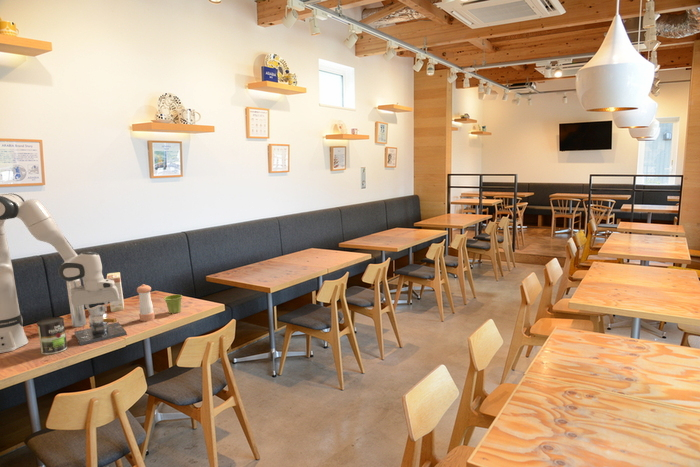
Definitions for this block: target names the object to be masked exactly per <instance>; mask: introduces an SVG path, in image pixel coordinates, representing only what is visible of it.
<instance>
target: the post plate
mask: <svg viewBox="0 0 700 467" xmlns="http://www.w3.org/2000/svg"><path fill="white" fill-rule="evenodd" d="M127 334H128V333H127V331H126V329H124V327H123V326H122V324H121V323H120V322H119V321H118V322H115V323H112V322H111V323H107V324H106V325H103V326H99V327H92V328H90V327H89V328H85V329H81V330H75V331H74V336H75V338H76V341H77V342H78V345H79V346H85V345H89V344H93V343H97V342H102V341H105V340H110V339H113V338H119V337H122V336H127Z"/></svg>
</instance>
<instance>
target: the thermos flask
mask: <svg viewBox="0 0 700 467" xmlns="http://www.w3.org/2000/svg"><path fill="white" fill-rule="evenodd" d="M79 286H82V281H81V278H80V279H77V280H74V281H66V288H67V295H68V302H69V303H68V304H69V310H70V316H71V324H72V327H73V328H79V327H80V328H81V327H84V326H86V325H87V319H86V318H87V317H86V311H85V305H81V306H74V305H73V304H72V295H71V292H70V291H71V289H72V288H73V287H79Z"/></svg>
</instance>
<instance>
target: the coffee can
mask: <svg viewBox="0 0 700 467" xmlns="http://www.w3.org/2000/svg"><path fill="white" fill-rule="evenodd" d="M64 319H65V318H64V317H61V316H56V317H54V316H53V317H47V318H43V319H41V320H38V321H37V322H36V325H37V331H38V339H39V344H40V353H41V354H42V355H45V356H46V355H54V354H59V353H62V352H64V351H66V350H67V349H68V341H67V337H66V329H65V328H66V327H65V320H64Z"/></svg>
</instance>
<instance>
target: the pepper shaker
mask: <svg viewBox="0 0 700 467" xmlns="http://www.w3.org/2000/svg"><path fill="white" fill-rule="evenodd" d="M151 291H152V287H151V286H150V285H147V284H144V283H143V284H141V285H140V286H138V287H137V288H136V293H138V299H139V306H138V309H139V314H138V315H139V321H140V322H150V321H152V320H153V321H154V320H155V318H156V317H155V311H154V306H153V302H152V298H151Z"/></svg>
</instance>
